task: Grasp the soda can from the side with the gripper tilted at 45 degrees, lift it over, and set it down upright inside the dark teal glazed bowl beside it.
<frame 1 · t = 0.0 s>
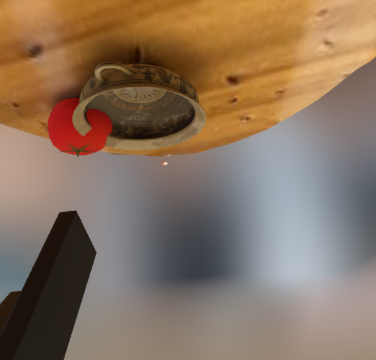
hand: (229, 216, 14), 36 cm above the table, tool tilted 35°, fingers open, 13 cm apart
ceramic bowl: (139, 77, 64), on the table
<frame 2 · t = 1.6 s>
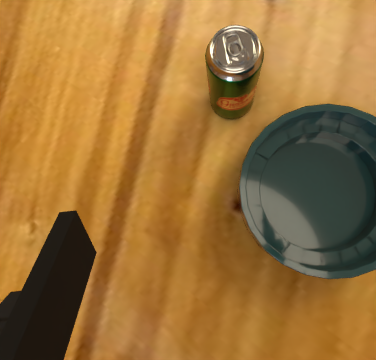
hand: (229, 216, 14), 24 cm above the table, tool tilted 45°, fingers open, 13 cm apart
soda can: (231, 100, 40), on the table
glazed bowl: (313, 193, 37), on the table
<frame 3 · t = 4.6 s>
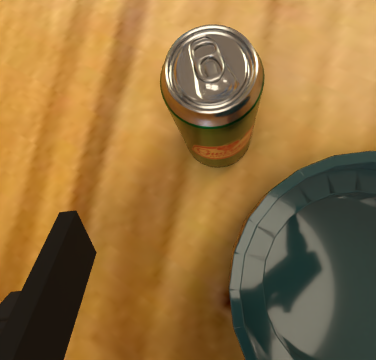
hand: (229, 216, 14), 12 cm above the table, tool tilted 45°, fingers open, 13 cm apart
soda can: (218, 138, 27), on the table
glazed bowl: (347, 281, 24), on the table
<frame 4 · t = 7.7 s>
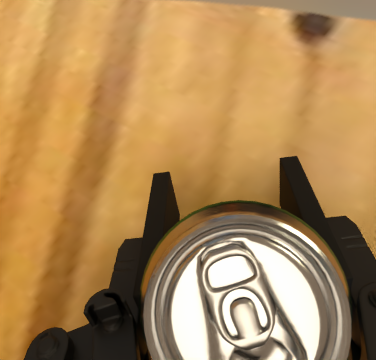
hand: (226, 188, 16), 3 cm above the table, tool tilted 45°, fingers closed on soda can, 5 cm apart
soda can: (234, 260, 19), on the table, touching gripper
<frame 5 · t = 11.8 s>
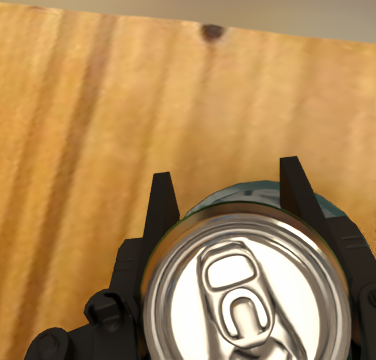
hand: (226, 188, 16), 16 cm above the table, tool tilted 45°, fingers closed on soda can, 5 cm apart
soda can: (234, 260, 19), point 13 cm above the table, touching gripper
glazed bowl: (259, 279, 31), on the table
when the fingers open (4 cm above the table, at t = 15.9 s): soda can stays where it is, resting on glazed bowl.
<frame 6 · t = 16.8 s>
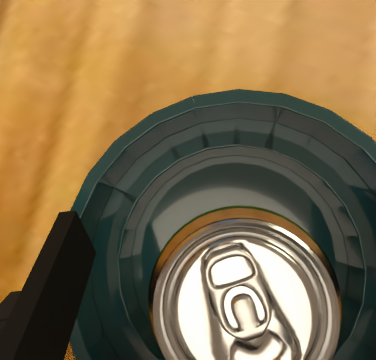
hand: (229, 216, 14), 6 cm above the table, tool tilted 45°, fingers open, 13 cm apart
soda can: (235, 260, 20), resting on glazed bowl
glazed bowl: (235, 259, 20), on the table
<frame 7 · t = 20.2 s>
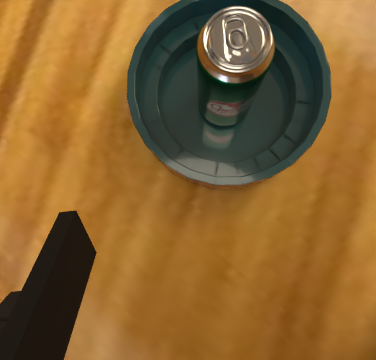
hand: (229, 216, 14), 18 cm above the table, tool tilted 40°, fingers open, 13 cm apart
soda can: (224, 102, 32), resting on glazed bowl
glazed bowl: (223, 103, 33), on the table
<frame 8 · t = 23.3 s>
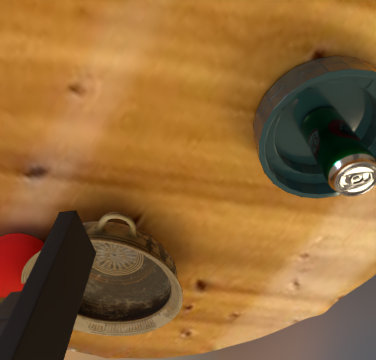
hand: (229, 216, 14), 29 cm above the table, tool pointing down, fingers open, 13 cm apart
soda can: (319, 123, 43), resting on glazed bowl
ceramic bowl: (116, 245, 58), on the table
glazed bowl: (319, 122, 43), on the table
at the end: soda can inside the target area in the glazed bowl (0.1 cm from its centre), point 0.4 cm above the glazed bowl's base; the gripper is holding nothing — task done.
